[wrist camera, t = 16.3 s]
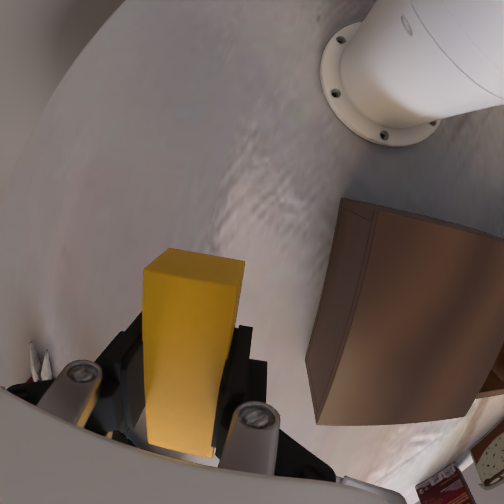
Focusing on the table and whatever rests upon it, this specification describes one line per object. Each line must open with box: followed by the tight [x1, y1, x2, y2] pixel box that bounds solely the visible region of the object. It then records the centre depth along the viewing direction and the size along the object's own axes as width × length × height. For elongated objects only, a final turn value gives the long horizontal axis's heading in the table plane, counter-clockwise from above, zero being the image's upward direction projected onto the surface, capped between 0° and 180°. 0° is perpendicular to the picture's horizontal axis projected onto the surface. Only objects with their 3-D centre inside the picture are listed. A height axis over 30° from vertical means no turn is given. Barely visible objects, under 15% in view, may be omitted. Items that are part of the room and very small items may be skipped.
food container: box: [469, 418, 504, 490], centre depth 29 cm, size 12×6×10 cm, turn 139°
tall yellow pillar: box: [142, 248, 245, 458], centre depth 11 cm, size 9×3×2 cm, turn 171°
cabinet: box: [305, 198, 504, 426], centre depth 23 cm, size 16×17×10 cm
